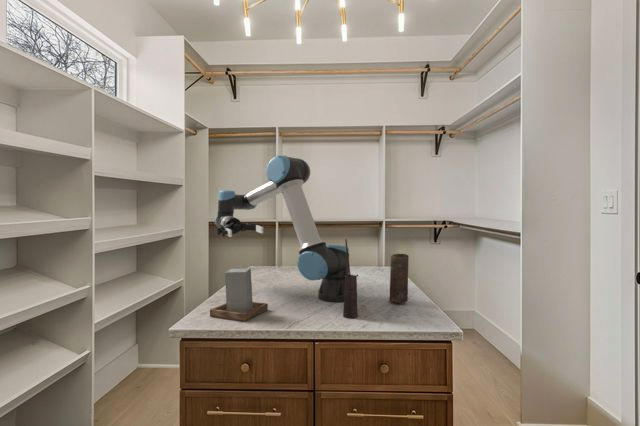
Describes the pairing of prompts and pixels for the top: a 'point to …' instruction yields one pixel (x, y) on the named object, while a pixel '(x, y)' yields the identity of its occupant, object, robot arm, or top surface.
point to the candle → (399, 278)
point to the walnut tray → (223, 313)
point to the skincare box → (238, 290)
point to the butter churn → (350, 293)
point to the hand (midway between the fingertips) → (247, 232)
